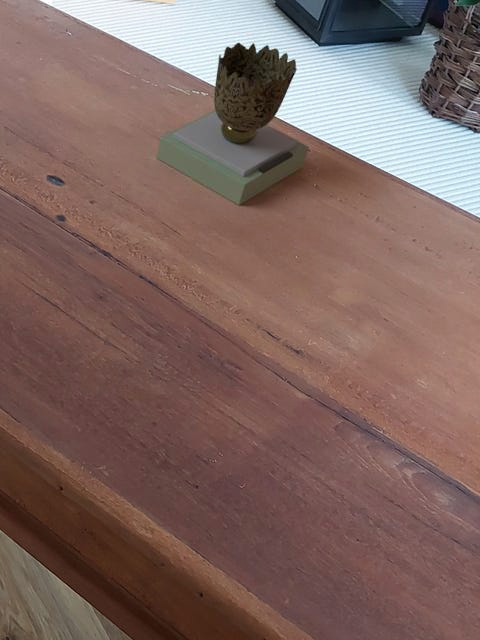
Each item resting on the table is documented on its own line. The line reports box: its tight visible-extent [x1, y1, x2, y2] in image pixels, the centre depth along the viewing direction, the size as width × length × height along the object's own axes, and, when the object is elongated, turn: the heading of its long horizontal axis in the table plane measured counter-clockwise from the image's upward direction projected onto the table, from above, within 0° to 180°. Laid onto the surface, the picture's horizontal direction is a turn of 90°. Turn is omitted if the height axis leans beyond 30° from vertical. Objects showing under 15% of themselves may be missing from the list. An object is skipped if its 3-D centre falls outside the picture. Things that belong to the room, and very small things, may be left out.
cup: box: [213, 42, 297, 143], centre depth 89 cm, size 8×7×8 cm
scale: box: [156, 109, 310, 206], centre depth 93 cm, size 11×11×3 cm
